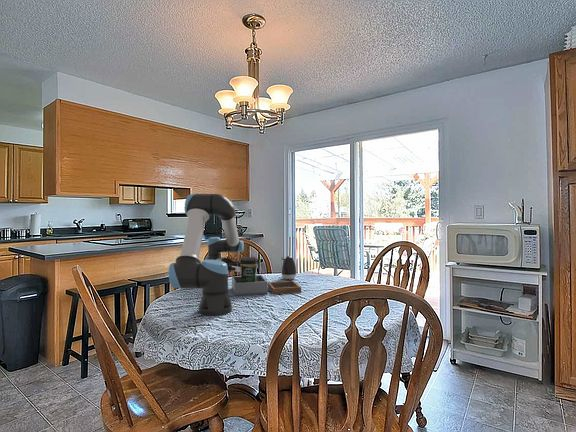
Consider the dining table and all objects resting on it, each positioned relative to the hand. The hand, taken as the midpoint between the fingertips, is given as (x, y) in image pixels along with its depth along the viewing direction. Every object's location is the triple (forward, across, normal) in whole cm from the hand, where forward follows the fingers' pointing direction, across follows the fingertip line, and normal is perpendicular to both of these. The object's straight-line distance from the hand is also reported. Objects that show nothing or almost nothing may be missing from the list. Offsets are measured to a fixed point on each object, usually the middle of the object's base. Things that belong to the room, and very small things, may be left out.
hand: (248, 267), depth 194 cm
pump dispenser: (-2, -39, -14) cm, 42 cm away
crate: (0, 0, -13) cm, 13 cm away
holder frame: (+14, -14, -13) cm, 24 cm away
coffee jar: (0, 0, -12) cm, 12 cm away
